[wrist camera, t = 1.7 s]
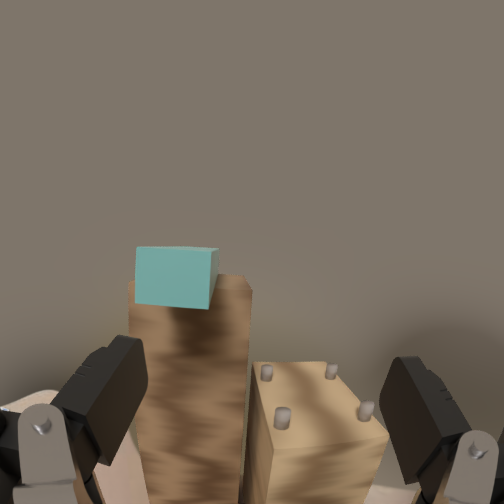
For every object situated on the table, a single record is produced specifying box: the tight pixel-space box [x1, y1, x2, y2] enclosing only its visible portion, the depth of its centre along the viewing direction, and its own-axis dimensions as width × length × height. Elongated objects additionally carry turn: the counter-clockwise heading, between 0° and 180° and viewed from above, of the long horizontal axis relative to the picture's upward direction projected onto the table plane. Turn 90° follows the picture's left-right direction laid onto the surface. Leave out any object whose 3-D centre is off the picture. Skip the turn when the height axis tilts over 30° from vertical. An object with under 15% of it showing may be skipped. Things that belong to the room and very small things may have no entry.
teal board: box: [135, 246, 220, 309], centre depth 25 cm, size 4×20×3 cm, turn 5°
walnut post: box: [129, 274, 252, 504], centre depth 29 cm, size 10×12×32 cm
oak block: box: [243, 361, 389, 504], centre depth 26 cm, size 9×17×24 cm, turn 5°
